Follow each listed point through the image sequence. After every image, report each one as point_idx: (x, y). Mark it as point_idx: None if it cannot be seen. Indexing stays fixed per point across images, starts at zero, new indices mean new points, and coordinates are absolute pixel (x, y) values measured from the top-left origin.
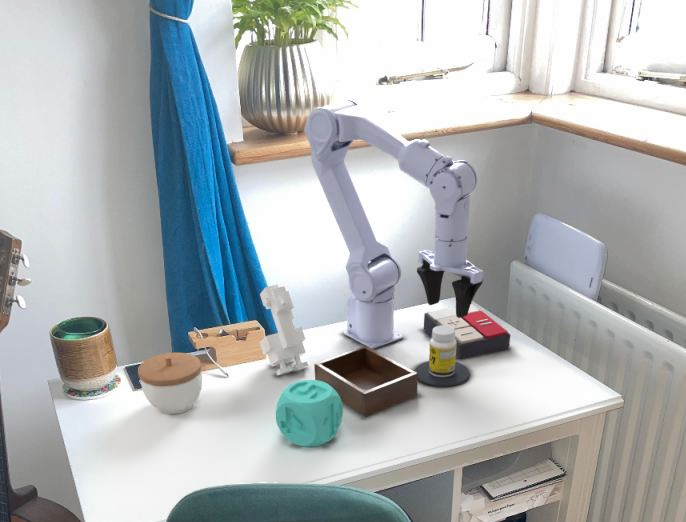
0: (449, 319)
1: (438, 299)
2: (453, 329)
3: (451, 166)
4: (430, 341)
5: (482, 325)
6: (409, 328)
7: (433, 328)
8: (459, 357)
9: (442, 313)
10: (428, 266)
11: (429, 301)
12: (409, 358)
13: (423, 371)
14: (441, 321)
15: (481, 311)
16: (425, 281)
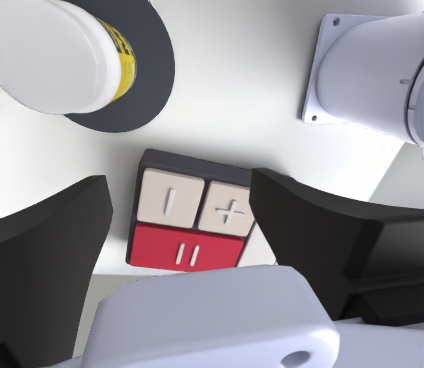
0: (245, 213)
1: (252, 207)
2: (27, 101)
3: None
4: (86, 14)
5: (179, 246)
6: (318, 162)
7: (78, 30)
8: (146, 150)
9: None
10: (388, 294)
11: (260, 170)
12: (222, 60)
13: (132, 23)
14: None
15: None
16: (321, 202)
